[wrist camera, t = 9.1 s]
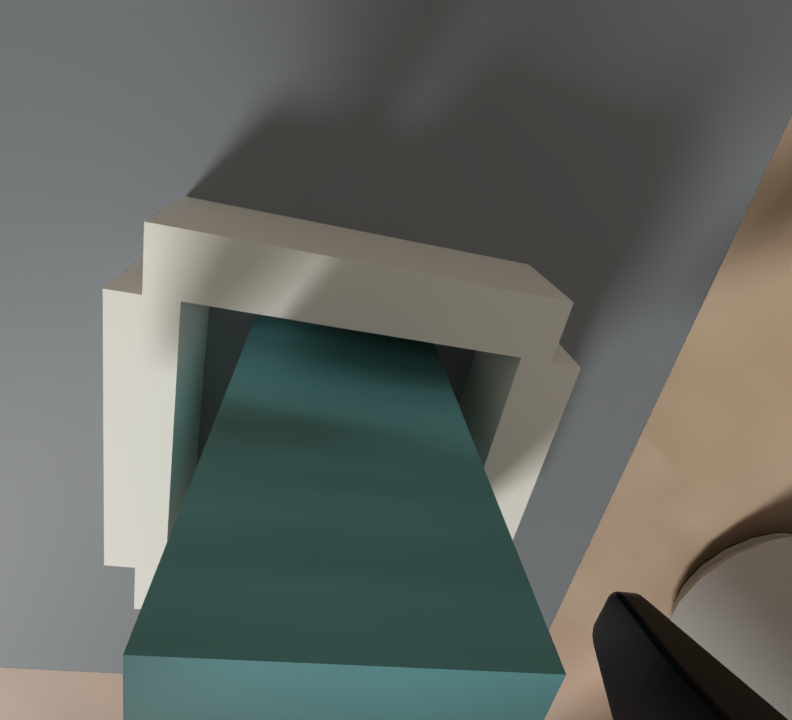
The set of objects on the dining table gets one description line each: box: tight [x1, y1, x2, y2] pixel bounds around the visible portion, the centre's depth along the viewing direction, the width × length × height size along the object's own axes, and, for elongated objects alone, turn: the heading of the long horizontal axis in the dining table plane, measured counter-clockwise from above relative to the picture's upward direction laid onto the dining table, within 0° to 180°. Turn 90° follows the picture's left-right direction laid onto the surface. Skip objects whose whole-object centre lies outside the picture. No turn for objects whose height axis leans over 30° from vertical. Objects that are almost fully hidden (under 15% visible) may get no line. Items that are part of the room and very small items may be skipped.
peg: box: [123, 316, 566, 720], centre depth 9 cm, size 4×4×8 cm
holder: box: [0, 0, 792, 674], centre depth 12 cm, size 20×16×4 cm
